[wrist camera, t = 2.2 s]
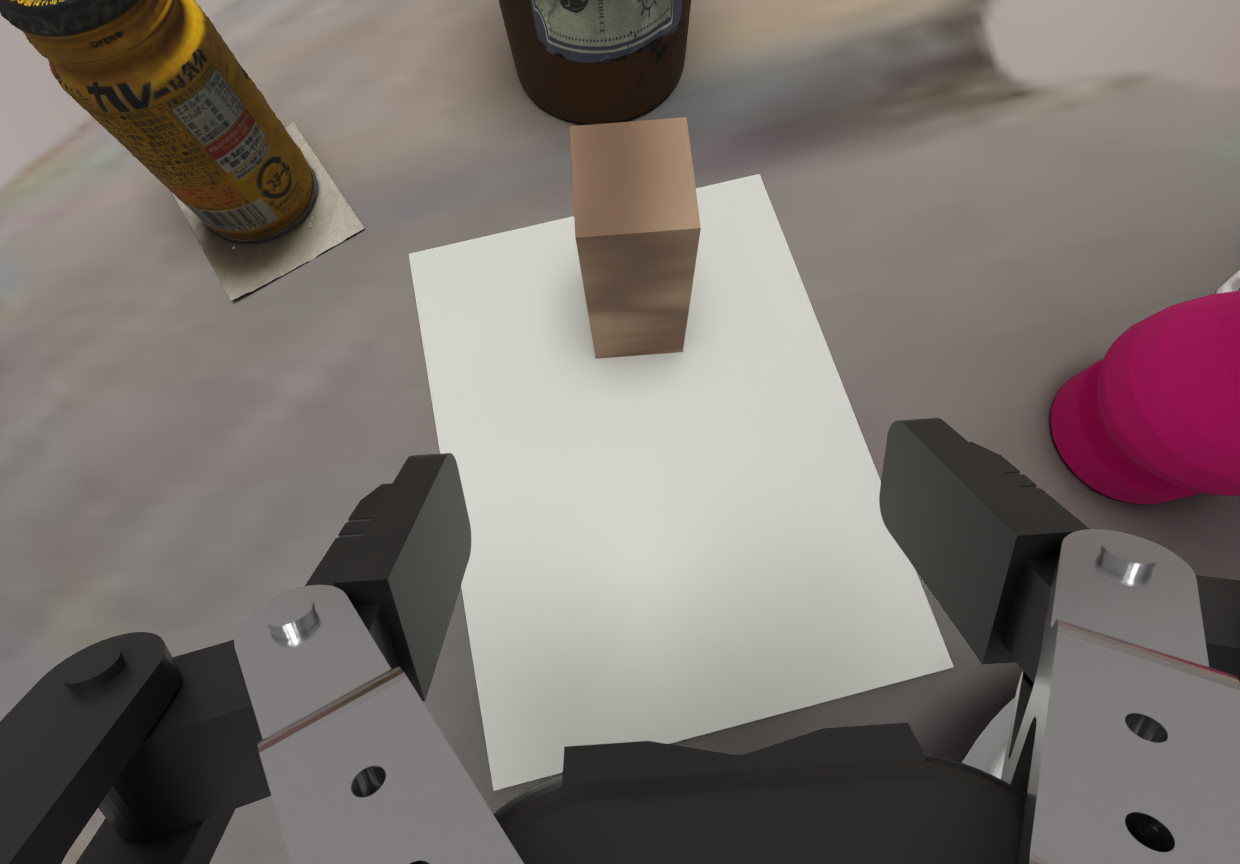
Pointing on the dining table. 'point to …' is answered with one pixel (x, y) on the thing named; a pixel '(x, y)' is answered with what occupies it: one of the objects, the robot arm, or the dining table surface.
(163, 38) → the condiment
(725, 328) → the rubber mat
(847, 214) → the dining table surface
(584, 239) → the walnut block
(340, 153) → the dining table surface
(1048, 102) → the dining table surface
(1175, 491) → the pepper mill
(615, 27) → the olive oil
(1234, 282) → the decorative candle
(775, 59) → the dining table surface
